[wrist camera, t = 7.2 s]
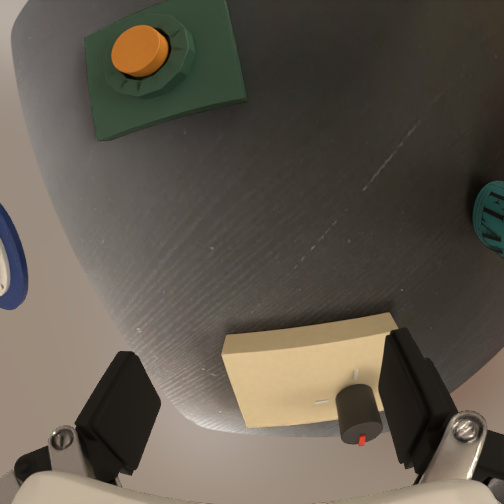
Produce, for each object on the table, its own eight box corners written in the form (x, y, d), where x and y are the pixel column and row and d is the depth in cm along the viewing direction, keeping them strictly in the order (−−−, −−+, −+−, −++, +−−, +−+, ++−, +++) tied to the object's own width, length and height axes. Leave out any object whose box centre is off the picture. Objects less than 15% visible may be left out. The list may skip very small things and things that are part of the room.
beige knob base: (249, 409, 32) (247, 429, 29) (226, 334, 28) (220, 355, 25) (380, 392, 30) (386, 411, 27) (390, 311, 25) (400, 330, 23)
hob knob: (334, 387, 26) (341, 430, 21) (373, 380, 25) (386, 420, 20) (335, 410, 27) (341, 450, 22) (371, 403, 26) (381, 441, 21)
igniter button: (126, 84, 17) (113, 80, 15) (120, 43, 15) (108, 37, 14) (172, 67, 16) (163, 61, 14) (165, 25, 15) (156, 17, 13)
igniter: (110, 140, 22) (84, 142, 18) (97, 43, 18) (72, 33, 14) (247, 101, 20) (242, 93, 16) (225, -3, 16) (216, -25, 13)
